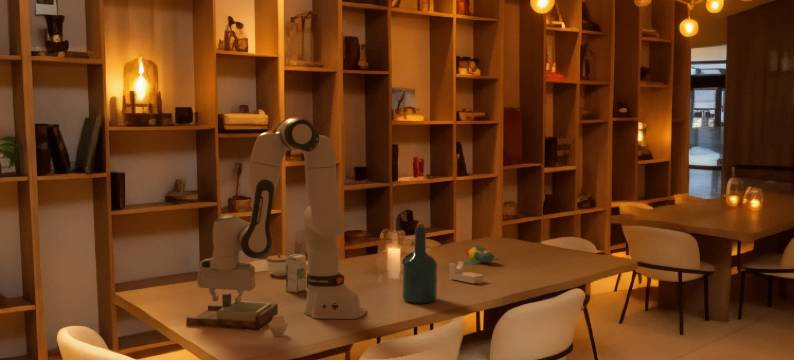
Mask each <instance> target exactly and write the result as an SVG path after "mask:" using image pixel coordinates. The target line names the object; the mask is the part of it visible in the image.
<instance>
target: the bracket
mask: <svg viewBox="0 0 794 360" xmlns="http://www.w3.org/2000/svg"><path fill="white" fill-rule="evenodd" d="M464 262H465V261H460V260H458V262H457V263H458V265H457V266H456V264H457V263H452V262H451V263H450V262H449V266H448V267H449V275H448V279H450V280H453V281H454V280H455V281H460V282H465V283H468V284H469V283H470V284H478V285H479V284H482V283H484V274H482V273H478V272H477V273H476V272H471V271H466V270H465V266H464Z"/></svg>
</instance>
